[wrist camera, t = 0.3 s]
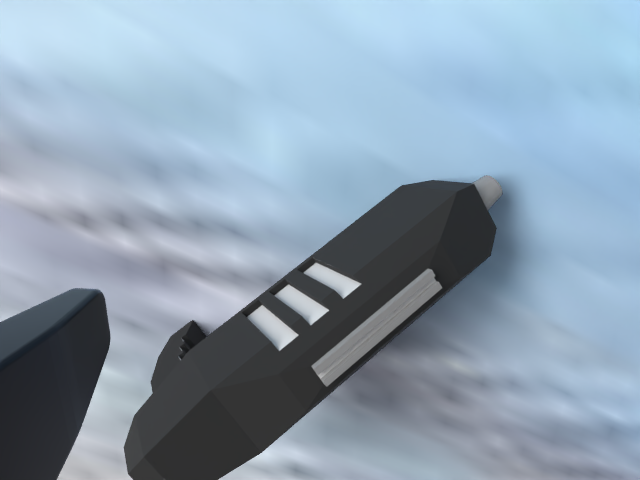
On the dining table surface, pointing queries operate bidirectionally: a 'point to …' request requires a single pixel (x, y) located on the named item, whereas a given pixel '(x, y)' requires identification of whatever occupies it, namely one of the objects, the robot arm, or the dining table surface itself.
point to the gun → (307, 332)
